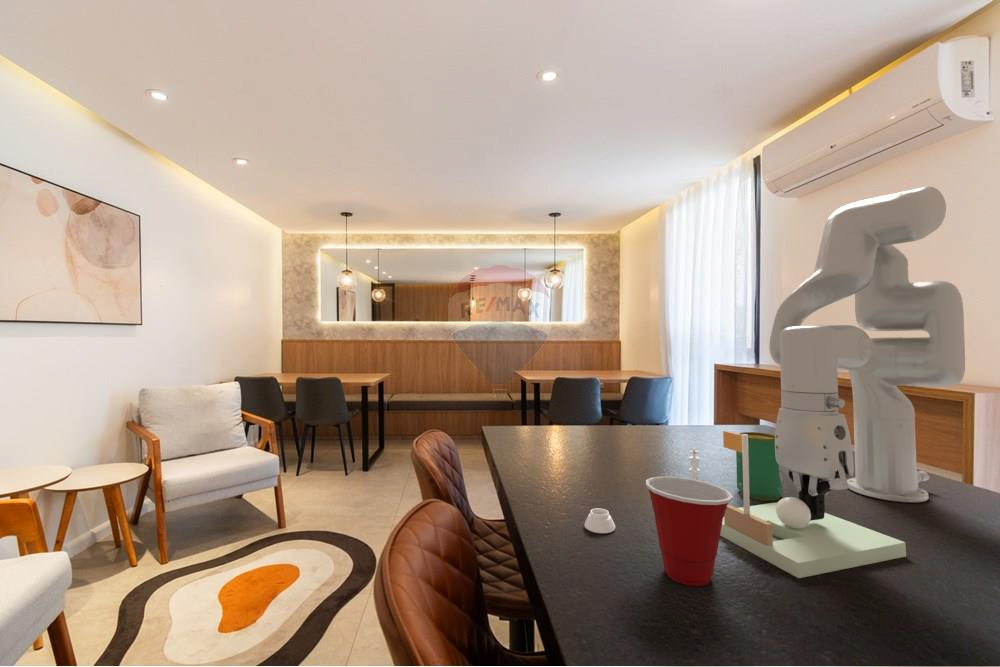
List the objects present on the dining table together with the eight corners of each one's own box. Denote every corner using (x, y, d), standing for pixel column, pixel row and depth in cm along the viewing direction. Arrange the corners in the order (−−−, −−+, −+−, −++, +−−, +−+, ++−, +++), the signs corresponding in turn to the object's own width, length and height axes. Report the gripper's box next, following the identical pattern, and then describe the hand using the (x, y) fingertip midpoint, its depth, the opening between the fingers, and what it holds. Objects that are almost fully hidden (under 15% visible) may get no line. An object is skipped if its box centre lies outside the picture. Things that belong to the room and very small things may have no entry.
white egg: (773, 489, 71) (765, 517, 70) (801, 498, 67) (793, 528, 66) (793, 497, 72) (785, 525, 72) (821, 507, 68) (813, 536, 67)
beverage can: (787, 503, 85) (786, 440, 85) (741, 498, 87) (739, 438, 88) (776, 490, 92) (774, 432, 93) (734, 486, 95) (732, 430, 95)
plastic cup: (755, 589, 56) (752, 493, 56) (683, 604, 52) (681, 503, 53) (694, 551, 66) (692, 470, 66) (631, 561, 63) (629, 477, 63)
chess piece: (711, 503, 85) (710, 451, 85) (684, 502, 86) (683, 450, 86) (705, 495, 90) (704, 445, 90) (679, 493, 91) (678, 445, 91)
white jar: (587, 521, 78) (582, 533, 73) (587, 504, 78) (581, 515, 73) (616, 525, 76) (613, 537, 71) (616, 508, 76) (612, 519, 71)
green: (791, 511, 81) (789, 418, 81) (906, 556, 63) (902, 437, 64) (700, 524, 75) (698, 424, 76) (798, 578, 58) (795, 448, 58)
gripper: (876, 407, 65) (880, 534, 64) (785, 396, 79) (787, 499, 79) (838, 410, 63) (842, 540, 62) (751, 398, 77) (754, 504, 76)
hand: (812, 517), depth 70 cm, fingers closed
